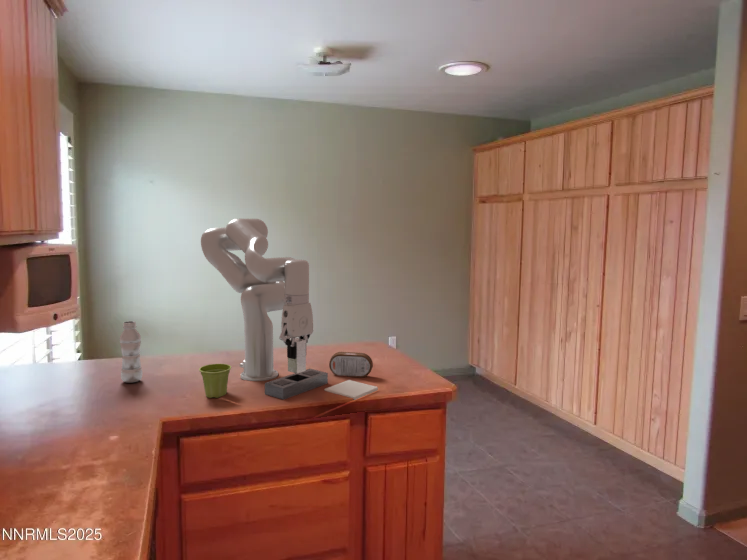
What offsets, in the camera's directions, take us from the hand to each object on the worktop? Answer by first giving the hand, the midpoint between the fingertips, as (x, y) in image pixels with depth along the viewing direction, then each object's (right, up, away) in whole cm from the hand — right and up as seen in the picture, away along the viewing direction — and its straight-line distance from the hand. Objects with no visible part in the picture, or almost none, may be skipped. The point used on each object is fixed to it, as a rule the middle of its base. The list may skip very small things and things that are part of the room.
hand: (296, 356), depth 169 cm
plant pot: (-24, -12, -4) cm, 27 cm away
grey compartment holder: (0, -11, +1) cm, 11 cm away
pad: (+17, -11, +1) cm, 20 cm away
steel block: (0, -5, +1) cm, 5 cm away
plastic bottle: (-55, -10, +7) cm, 57 cm away
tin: (+16, -10, +16) cm, 25 cm away
